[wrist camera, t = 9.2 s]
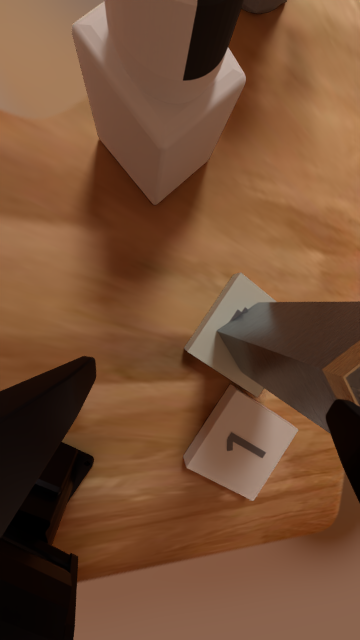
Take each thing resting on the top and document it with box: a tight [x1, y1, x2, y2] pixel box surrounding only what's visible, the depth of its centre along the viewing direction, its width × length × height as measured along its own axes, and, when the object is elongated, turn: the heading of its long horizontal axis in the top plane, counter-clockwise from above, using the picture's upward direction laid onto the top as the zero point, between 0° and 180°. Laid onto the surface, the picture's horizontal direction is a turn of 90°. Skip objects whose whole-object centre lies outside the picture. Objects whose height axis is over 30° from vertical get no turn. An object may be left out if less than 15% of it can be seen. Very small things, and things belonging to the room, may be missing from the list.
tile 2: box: [184, 273, 276, 398], centre depth 20 cm, size 9×9×2 cm
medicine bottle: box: [72, 0, 246, 205], centre depth 12 cm, size 7×7×12 cm
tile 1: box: [183, 384, 298, 501], centre depth 21 cm, size 9×9×2 cm
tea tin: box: [217, 302, 360, 434], centre depth 14 cm, size 5×5×12 cm
